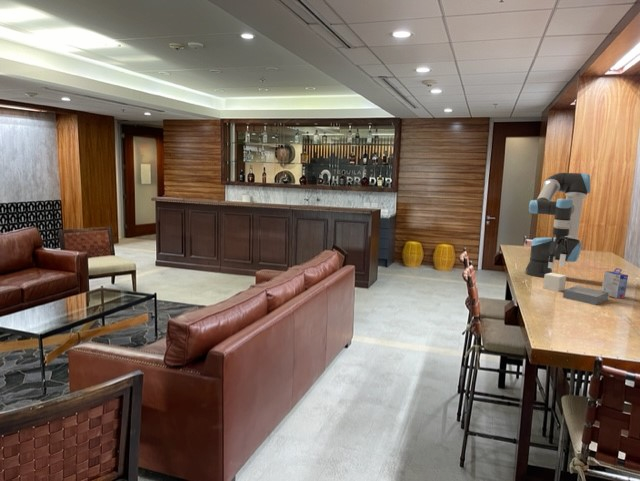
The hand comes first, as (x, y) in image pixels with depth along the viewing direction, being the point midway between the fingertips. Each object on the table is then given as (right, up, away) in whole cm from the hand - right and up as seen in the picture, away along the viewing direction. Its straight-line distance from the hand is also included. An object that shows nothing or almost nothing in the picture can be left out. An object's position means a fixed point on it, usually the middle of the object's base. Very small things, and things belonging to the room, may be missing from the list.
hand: (556, 267), depth 244 cm
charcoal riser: (+7, -15, -15) cm, 22 cm away
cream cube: (0, -12, +2) cm, 12 cm away
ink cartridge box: (+26, -15, -7) cm, 31 cm away
